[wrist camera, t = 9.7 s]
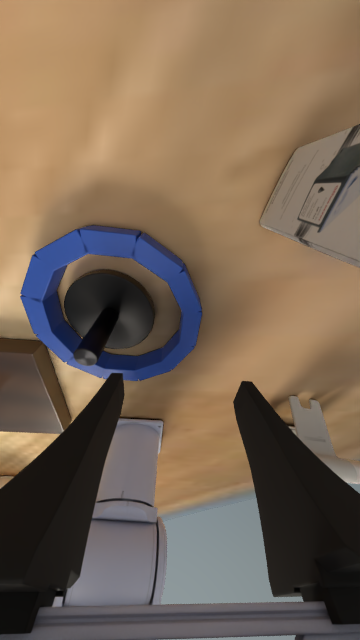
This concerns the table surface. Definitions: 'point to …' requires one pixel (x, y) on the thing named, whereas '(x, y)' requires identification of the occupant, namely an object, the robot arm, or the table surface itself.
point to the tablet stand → (321, 439)
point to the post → (107, 313)
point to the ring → (117, 243)
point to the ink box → (321, 197)
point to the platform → (30, 389)
